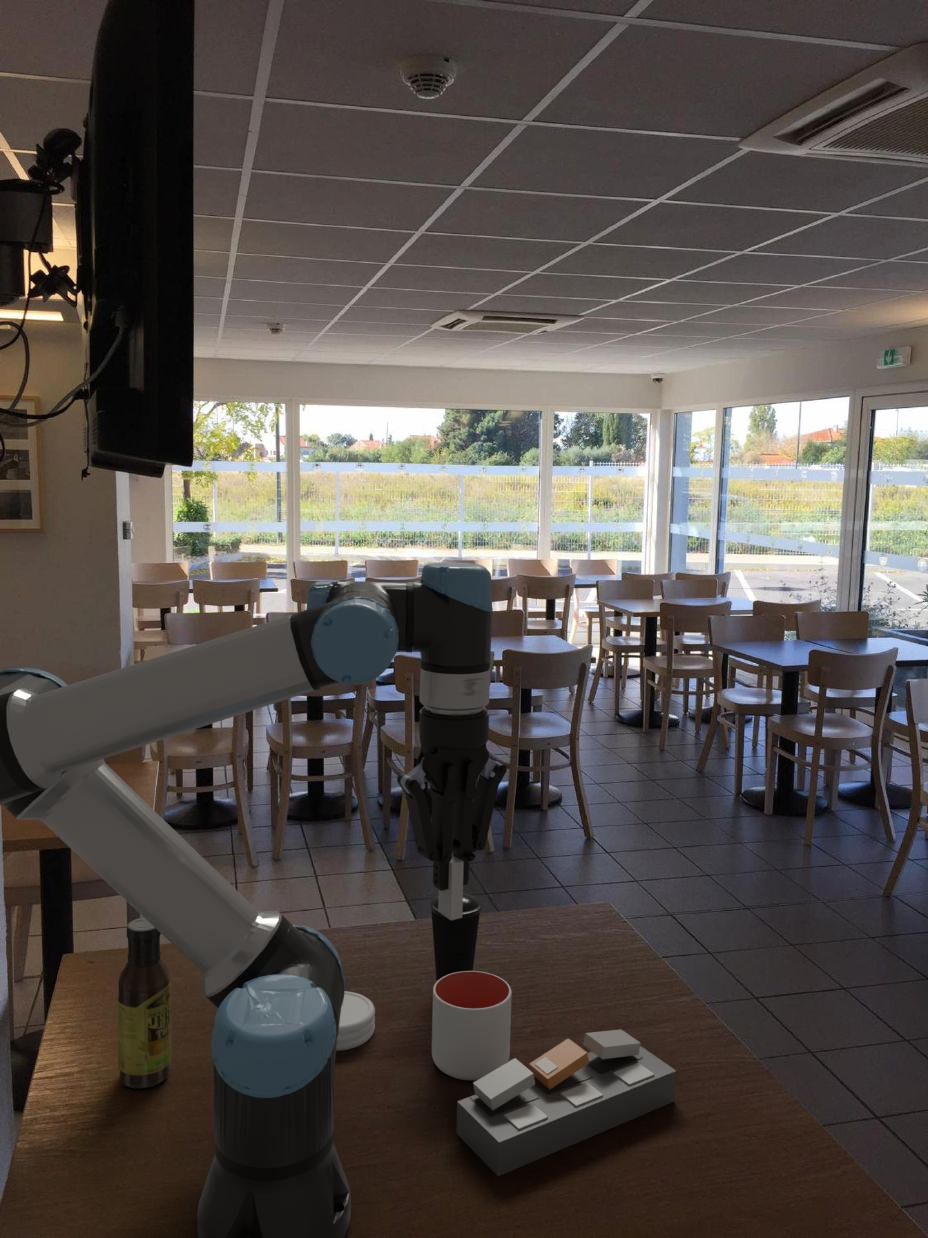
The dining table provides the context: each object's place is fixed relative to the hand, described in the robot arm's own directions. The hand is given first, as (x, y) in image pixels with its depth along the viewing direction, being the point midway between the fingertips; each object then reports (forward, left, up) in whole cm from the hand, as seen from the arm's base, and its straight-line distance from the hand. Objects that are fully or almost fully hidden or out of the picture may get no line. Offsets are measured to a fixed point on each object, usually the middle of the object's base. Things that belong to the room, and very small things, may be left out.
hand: (450, 914), depth 113 cm
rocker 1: (+6, -3, -21) cm, 22 cm away
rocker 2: (+14, -3, -21) cm, 25 cm away
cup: (+10, +11, -27) cm, 30 cm away
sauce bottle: (-26, +28, -27) cm, 47 cm away
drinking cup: (+18, +27, -27) cm, 42 cm away
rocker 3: (+22, -3, -21) cm, 31 cm away
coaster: (-1, +26, -27) cm, 37 cm away
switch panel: (+14, -5, -26) cm, 30 cm away
